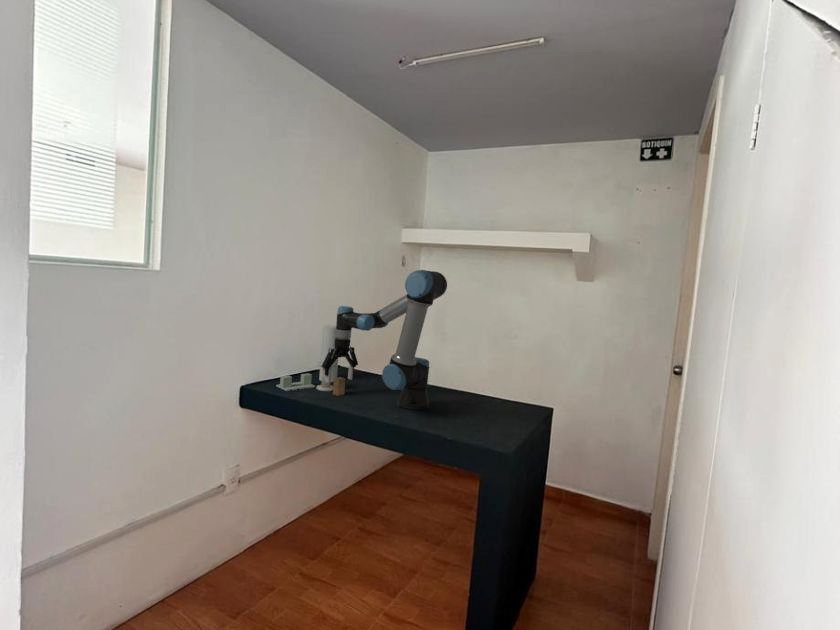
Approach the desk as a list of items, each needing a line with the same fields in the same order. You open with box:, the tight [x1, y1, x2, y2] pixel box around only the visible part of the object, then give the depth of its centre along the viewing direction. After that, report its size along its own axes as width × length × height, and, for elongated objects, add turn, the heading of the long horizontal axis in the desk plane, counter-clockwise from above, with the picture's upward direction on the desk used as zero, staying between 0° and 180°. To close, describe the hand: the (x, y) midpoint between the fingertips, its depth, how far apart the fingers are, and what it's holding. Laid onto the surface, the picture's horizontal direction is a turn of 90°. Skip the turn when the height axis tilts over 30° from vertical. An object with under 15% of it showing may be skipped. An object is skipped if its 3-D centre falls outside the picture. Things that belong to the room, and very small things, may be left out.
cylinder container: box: [319, 325, 339, 383], centre depth 245 cm, size 9×9×30 cm
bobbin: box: [316, 361, 336, 392], centre depth 227 cm, size 9×9×13 cm
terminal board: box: [276, 372, 316, 392], centre depth 226 cm, size 10×16×6 cm, turn 137°
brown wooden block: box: [332, 376, 346, 397], centre depth 219 cm, size 4×4×8 cm
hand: (338, 380), depth 219 cm, fingers open, 13 cm apart
